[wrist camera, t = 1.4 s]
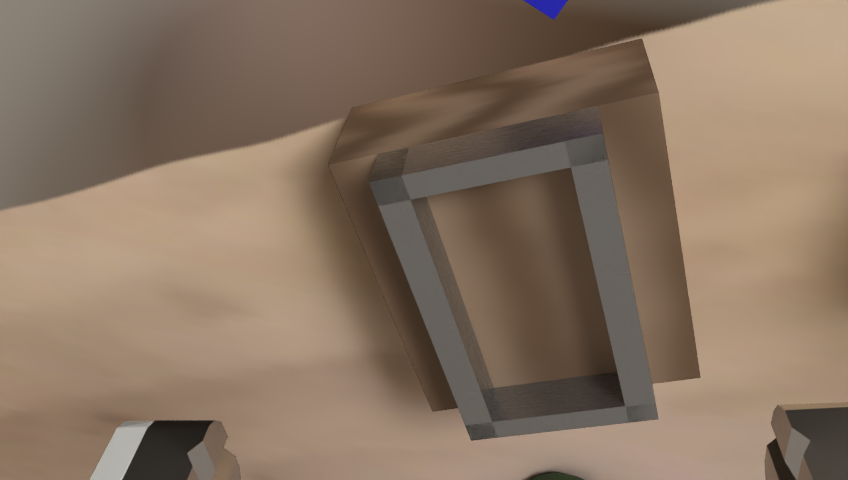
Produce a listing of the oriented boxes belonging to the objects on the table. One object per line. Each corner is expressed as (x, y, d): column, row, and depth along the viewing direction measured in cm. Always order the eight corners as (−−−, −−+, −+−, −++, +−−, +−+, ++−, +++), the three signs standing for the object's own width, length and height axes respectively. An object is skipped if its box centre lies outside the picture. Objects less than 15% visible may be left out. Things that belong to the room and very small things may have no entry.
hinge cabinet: (641, 38, 37) (667, 119, 30) (682, 304, 46) (709, 413, 39) (351, 107, 41) (316, 193, 34) (441, 340, 50) (427, 445, 43)
